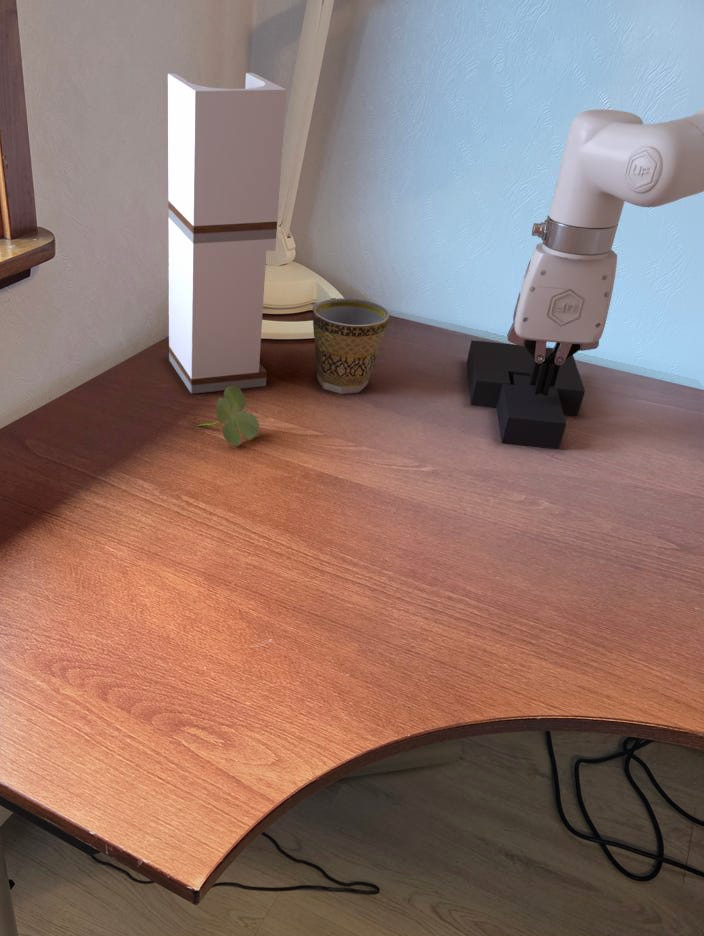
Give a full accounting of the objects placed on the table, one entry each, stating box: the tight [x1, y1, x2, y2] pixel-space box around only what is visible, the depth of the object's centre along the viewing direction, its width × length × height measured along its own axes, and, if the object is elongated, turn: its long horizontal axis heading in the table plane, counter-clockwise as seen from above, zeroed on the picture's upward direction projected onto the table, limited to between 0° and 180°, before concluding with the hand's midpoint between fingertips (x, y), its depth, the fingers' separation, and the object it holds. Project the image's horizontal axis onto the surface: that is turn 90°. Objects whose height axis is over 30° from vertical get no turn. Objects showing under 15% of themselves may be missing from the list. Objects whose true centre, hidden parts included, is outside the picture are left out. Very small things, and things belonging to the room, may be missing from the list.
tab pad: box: [496, 374, 567, 450], centre depth 116 cm, size 7×13×4 cm, turn 170°
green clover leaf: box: [197, 385, 260, 447], centre depth 111 cm, size 7×8×7 cm
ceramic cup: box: [312, 297, 390, 395], centre depth 122 cm, size 13×10×10 cm
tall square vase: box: [167, 72, 287, 394], centre depth 114 cm, size 11×11×35 cm
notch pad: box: [465, 340, 586, 417], centre depth 124 cm, size 14×14×4 cm
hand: (539, 390), depth 113 cm, fingers closed
